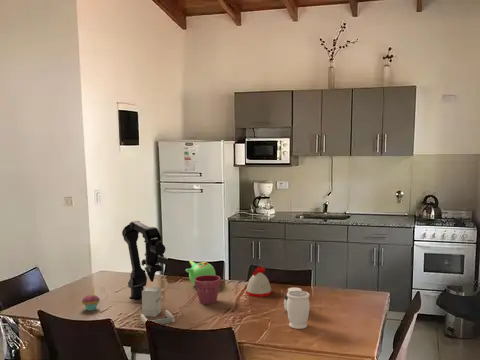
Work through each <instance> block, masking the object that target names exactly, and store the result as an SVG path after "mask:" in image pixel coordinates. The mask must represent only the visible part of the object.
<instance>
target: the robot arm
mask: <svg viewBox="0 0 480 360" xmlns="http://www.w3.org/2000/svg"><path fill="white" fill-rule="evenodd" d="M139 234H141V235H142V238H143V239H144V240H143V242H144V243H145V244H144V245H145V253H144V256H145V259H142V260H141V259H140V254H139V248H138V243H137V242H138V240H139V236H140V235H139ZM121 235H122V237H123V241H124V242H125V243H126V244H127V246H128V253H129V259H130V263H131V272H130V277H129V278H130V279H129V280H128V282H127V286H128V288H129V289H130V297H129V299H131V300H136V301H137V300H138V301H139V300H142V291H143V290H144V289H145V288H144V287H147V284H148V279H149V281H150V282H151V283H153V282H154V279H155V275H156V273H157V272H163V267H162V266H161V265H160V264H163V265H164V266H166V265H167V264H168V260H169V259H168V258H167V257H165V255H164V254H165V253H166V246H165V244H163V242H162V241H163V239H162V236H161V233H160V231H159V229H158V228H157V227H156V226H148V225H146V224H145V223H142V222H141V221H140V220H134V221H131V222H129V224H127V225H126V226H124V227H123V230H122V231H121ZM142 266H143V267H144V266H145V267H144V269H143V268H142ZM147 276H148V277H147Z"/></svg>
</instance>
